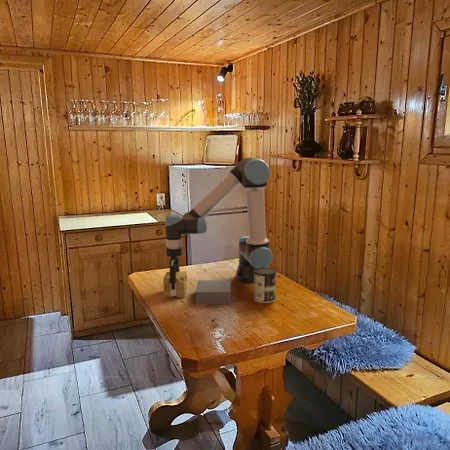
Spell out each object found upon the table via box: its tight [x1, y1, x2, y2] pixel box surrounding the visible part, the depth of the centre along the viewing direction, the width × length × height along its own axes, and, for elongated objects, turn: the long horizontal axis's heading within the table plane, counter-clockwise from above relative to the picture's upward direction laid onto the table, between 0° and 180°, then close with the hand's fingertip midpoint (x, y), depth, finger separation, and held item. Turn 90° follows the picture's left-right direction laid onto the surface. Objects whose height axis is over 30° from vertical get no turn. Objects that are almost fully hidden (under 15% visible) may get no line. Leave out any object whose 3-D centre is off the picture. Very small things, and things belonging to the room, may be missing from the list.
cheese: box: [162, 271, 188, 299], centre depth 197 cm, size 10×11×10 cm
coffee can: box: [253, 266, 277, 304], centre depth 190 cm, size 10×10×14 cm
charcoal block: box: [195, 279, 232, 305], centre depth 193 cm, size 16×16×6 cm
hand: (175, 291), depth 198 cm, fingers open, 10 cm apart
